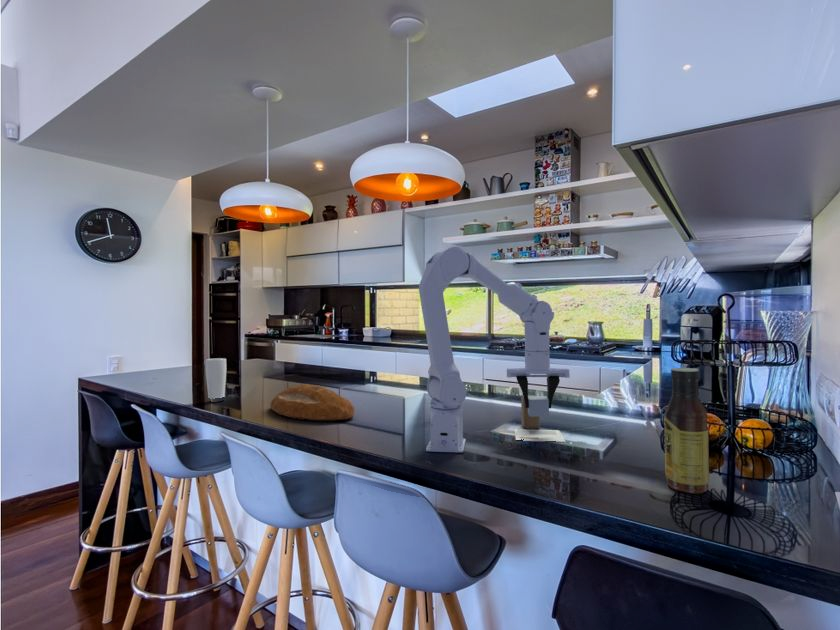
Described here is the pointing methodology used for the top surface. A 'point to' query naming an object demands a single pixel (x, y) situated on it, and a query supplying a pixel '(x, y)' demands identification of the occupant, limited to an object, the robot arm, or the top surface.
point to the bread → (312, 404)
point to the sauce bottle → (686, 435)
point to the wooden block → (526, 420)
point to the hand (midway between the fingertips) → (538, 407)
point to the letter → (538, 435)
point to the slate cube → (538, 406)
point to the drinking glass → (216, 377)
